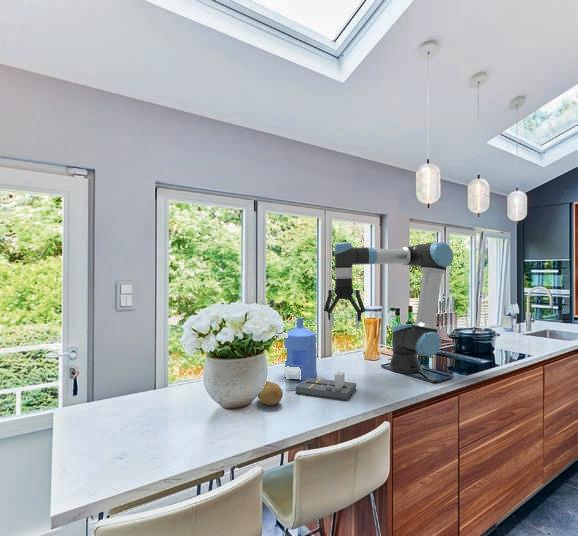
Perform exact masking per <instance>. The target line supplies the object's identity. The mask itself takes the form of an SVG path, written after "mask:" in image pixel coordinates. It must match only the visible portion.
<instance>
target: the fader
mask: <svg viewBox="0 0 578 536" xmlns="http://www.w3.org/2000/svg"><path fill="white" fill-rule="evenodd" d="M334 381H335V387H336V386H340V387H341V388H342V387H343V386H344V385H345V382H346V380H345V372H341V371H340V372H339V371H337V372H336V373H335V374H334Z"/></svg>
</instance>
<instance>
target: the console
mask: <svg viewBox="0 0 578 536" xmlns="http://www.w3.org/2000/svg"><path fill="white" fill-rule="evenodd" d="M356 390H357V383H356V382H350V381H345V385H344V386H343V387H342V388H341V387H340V386H336V387H335V379H334V380H333V379H325V378H317V377H315V378H309V377H308V378H307V379H305V380H302V381H301V382H299V384H297V385H296V386H295V395H301V394H302V395H303V396H308V397H316V398H323V399H329V400H330V399H331V400H337V401H344V402H347V401H349V399H350V398H351V397H352V395H354V393H355V392H356ZM302 395H301V396H302Z"/></svg>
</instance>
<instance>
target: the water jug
mask: <svg viewBox="0 0 578 536" xmlns="http://www.w3.org/2000/svg"><path fill="white" fill-rule="evenodd" d="M303 320H304V318H303V317H301V318H296V327H294V328H292V329H290V330H288V331H286V332H285V333H287V334H288V338H285V339H284V338H283V341H284V342H283V343H284V348H285V350H286V360H285V361H284V368H285V367H287V366H289V367H299V368H300V369H301V380H300V381H304V380H305V379H307V378H308V377H309V378H317V375H318V374H317V373H318V369H317V356H318V355H317V335H316V334H317V333H315V332H314V331H312V330H310V329H308V328H306V327H304V321H303Z"/></svg>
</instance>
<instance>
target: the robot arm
mask: <svg viewBox="0 0 578 536" xmlns="http://www.w3.org/2000/svg"><path fill="white" fill-rule="evenodd" d="M333 254H334V277H335V279H334V287H335V288H334V289H329V290H327V292H328V294H327V295H328V296H327V299H326V302H325V306H324V308H323V311H324V312H326V313H328V314H327V317H328V321H329V322H330V323H329V324H330V327H329V328H331V329H332V328H335V314H334V313H335V312H333V311H334V308H335V307H336V306H337V304H338V302H339V301H340V300H343V299H344V300H348V302H350V304H351V305H352V307H353V308H354V310H355V312H356V313H355V330H358V329H360V322H361V321H362V314H363V313H366V308H365V305H364V302H363V300H362V296H361V290H360V289H354V288H353V265H357V266H358V265H391V264H393V265H394V264H395V265H396V264H397V265H398V264H399V265H400V264H401V265H402V266H412V267H419V268H420V271H422V277H421V282H420V283H421V284H420V292H419V297H418V305H417V311H416V317H415V318H416V319H415V321H414V322H413V323H408V324H406V323H405V324H394V325H393V326H392V330H391V331H392V332H391V334H392V355H391V358H390V361H389V370H390V371H392V372H395V373H400V374H417V373H416V372H418V373H420V372H421V371H422V369H421V368H422V366H421V363H420V361H419V357H418V355H419V356H422V357H423V356H424V357H433V356H435V355H436V354H437V353H439V351H440V350H441V346H442V338H441V336H440V334H439V333H438V330H439V329H438V326H437V325H436V319H437V311H438V305H439V297H440V291H441V284H442V278H443V277H442V276H443V275H444V274H445V273H446V272H447V267H449V266H451V264H452V263H453V261H454V252H453V248H451V246H450V245H449V244H448V243H446V242H442V241H441V242H439V241H435V242H430V243H429V242H428V243H420V244H416V245H411V246H402V247H401V248H374V247H354V246H353V245H352V242H337V243H335V245H334V253H333ZM334 294H335V295H336V296H335V298H334V300H333V302H332V299H333V295H334ZM353 294H354V295H355V297H356V300H357V303H358V304H357V303H356V301H355V299H354V298H353ZM331 302H332V303H331ZM420 370H421V371H420ZM419 371H420V372H419Z"/></svg>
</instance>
